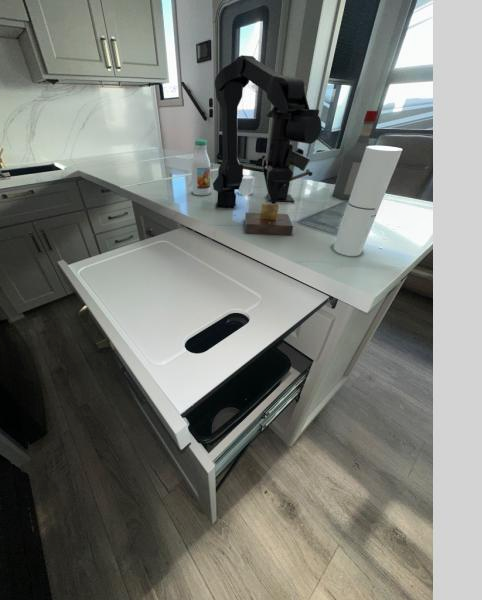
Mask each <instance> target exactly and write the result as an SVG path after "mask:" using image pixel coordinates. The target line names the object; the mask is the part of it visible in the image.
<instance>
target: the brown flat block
mask: <svg viewBox="0 0 482 600" xmlns="http://www.w3.org/2000/svg"><path fill="white" fill-rule="evenodd" d="M260 215H261V212H245V215H244V231H245V234H253V235H254V234H256V235H275V236H276V235H277V236H279V235H280V236H292V233H293V229H294V225H293V223H292V220H291V218H290V215H289V214H288V213H278V214H277V219H276V220H270V219H260Z"/></svg>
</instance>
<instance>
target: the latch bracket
mask: <svg viewBox="0 0 482 600" xmlns="http://www.w3.org/2000/svg"><path fill="white" fill-rule="evenodd" d="M290 183H291V181H290V182H289V183H287V184H285V185H284V186H283V187H282V189H281V191H280V194H279V196H278V198H277V201H276V203H289V204H290V203H293V204H294V203H295V199H294V197H293V195H292V194H289V189H290ZM266 199H267V202H269V203H271V199H270V194H268V193H266Z"/></svg>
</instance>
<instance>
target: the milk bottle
mask: <svg viewBox="0 0 482 600" xmlns="http://www.w3.org/2000/svg"><path fill="white" fill-rule="evenodd" d="M207 145H208V141H207V140H206V139H195V140H194V147H195V151H194V155H193V158H192V159H191V160H192V161H191V189H192V194H193V195H195V196H208V195H210V193H211V160H210V157H209V155H208V151H207V148H208V147H207Z"/></svg>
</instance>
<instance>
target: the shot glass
mask: <svg viewBox="0 0 482 600" xmlns="http://www.w3.org/2000/svg"><path fill="white" fill-rule="evenodd" d="M255 179H256V177H255V176H254V175H250V174H243V177H242V182H241V185H240V188H239V189H238V194H239V195H242V196H250V195H252V193H253V189H254V184H255Z"/></svg>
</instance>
